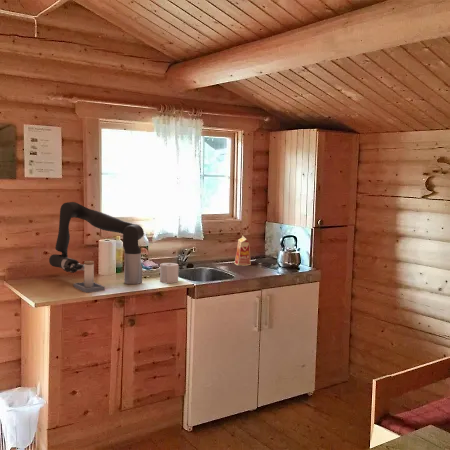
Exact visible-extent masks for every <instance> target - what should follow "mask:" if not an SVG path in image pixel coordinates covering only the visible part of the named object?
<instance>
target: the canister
mask: <svg viewBox="0 0 450 450" xmlns="http://www.w3.org/2000/svg"><path fill="white" fill-rule="evenodd" d="M83 264H84V270H83V282H84V287H85V288H94V282H95V278H94V277H95V275H94V274H95V261H94V260H85V261H84V262H83Z"/></svg>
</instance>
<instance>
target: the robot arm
mask: <svg viewBox="0 0 450 450" xmlns="http://www.w3.org/2000/svg"><path fill="white" fill-rule="evenodd" d="M72 218H78V219H80V220H84V221H85V222H87V223H88V224H90V225H91V226H93V228H97V229H99V230H101V231H105V232H112V233H119V234H122V245H123V250H124V266H123V267H124V271H123V272H124V277H123V278H124V279H123V280H124V281H123V282H124V284H126V285H138V284H141V283H143V266H142V248H141V247H140V246H139V241H140V240H141V239H142V238H143V237H144V235H145V233H144V232H145V231H144V228H142V226H141V225H139V224H137V223H132V222H128V221H124V220H122V219H119V218H117V217H115V216H113V215H109V214H107V213H104V212H100V211H98V210H95V209H91V208H88V207H87V206H84V205H82V204H80V203H78V202H75V201H68V202H64V203H62V204H61V206H60V209H59V223H58V235H57V238H56V243H55V247H54V248H55V250H56V251H57V252H59V253H61V254H56V253H55V254H51V255H50V256H49V259H48V263H49V264H50V265H51V267H55V268H61V269H63V271H64V272H67V273H77V272H78V271H84V263H79V261H78V260H77V259H74V258H71V257H68V256H69V255H68V251H69V250H68V248H69V244H70V239H71V238H70V235H71V234H70V229H69V228H70V227H69V226H70V222H71V219H72Z"/></svg>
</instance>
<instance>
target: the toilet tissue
mask: <svg viewBox="0 0 450 450" xmlns="http://www.w3.org/2000/svg"><path fill="white" fill-rule="evenodd" d="M159 281H160V283H166V284H173V283H177V282H179V264H178V263H175V262H162V263H160V264H159Z"/></svg>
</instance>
